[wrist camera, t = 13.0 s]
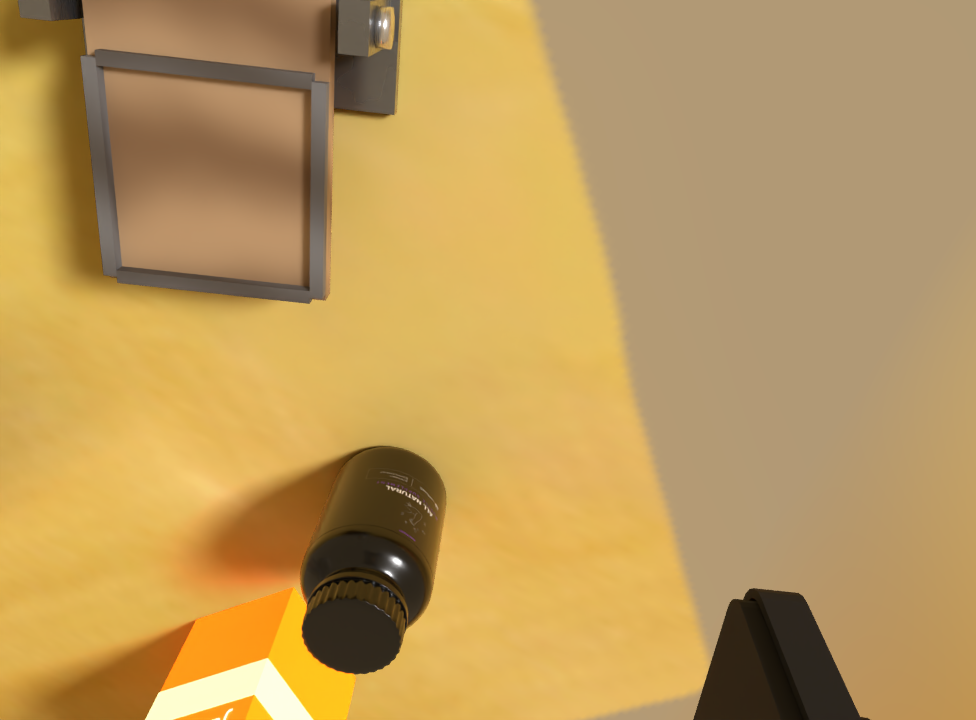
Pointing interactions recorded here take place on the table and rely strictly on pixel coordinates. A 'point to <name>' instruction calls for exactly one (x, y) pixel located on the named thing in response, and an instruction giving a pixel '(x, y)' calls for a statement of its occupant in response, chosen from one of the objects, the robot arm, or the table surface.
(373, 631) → the supplement bottle
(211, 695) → the orange juice
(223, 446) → the table surface
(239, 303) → the table surface
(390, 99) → the pivot stand
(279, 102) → the balance beam board
